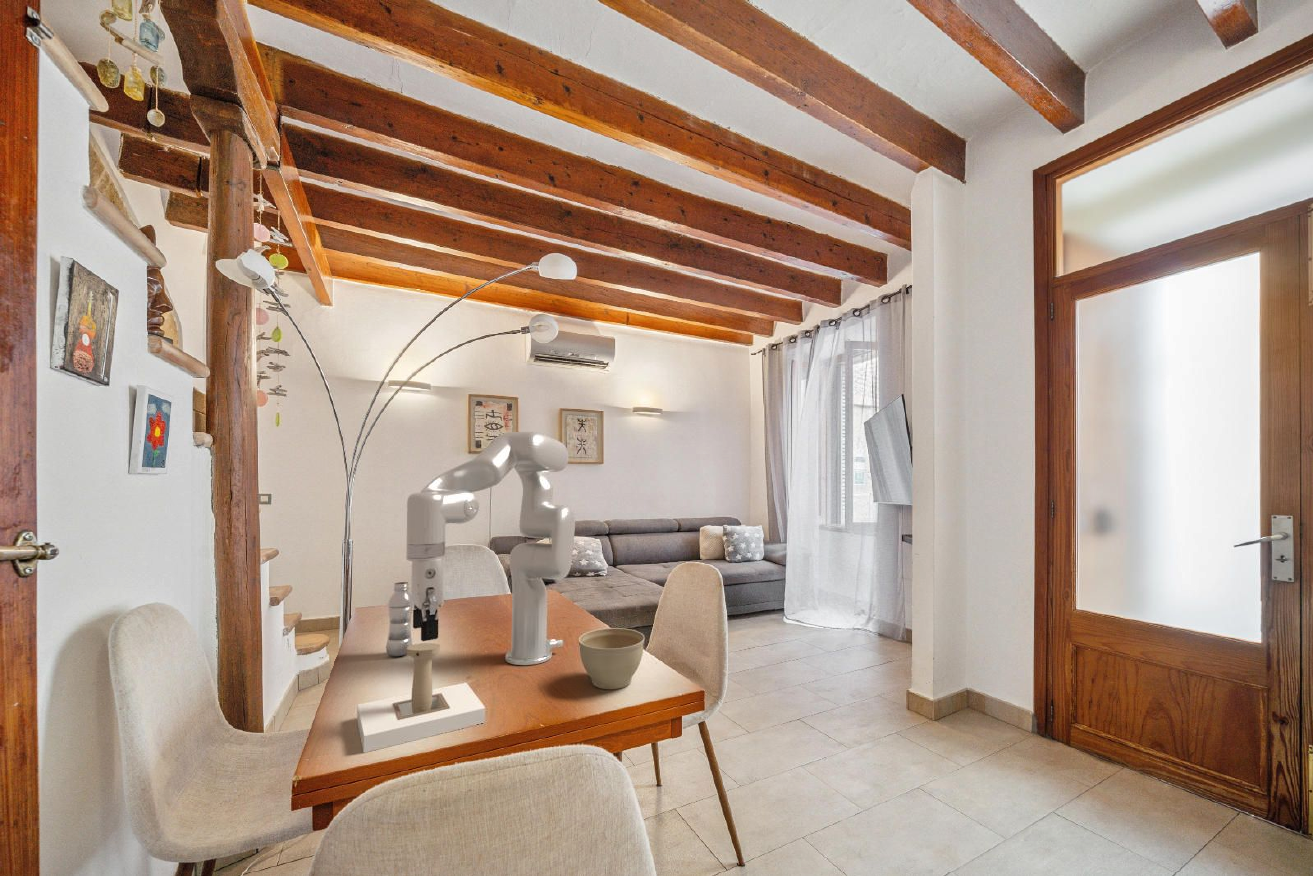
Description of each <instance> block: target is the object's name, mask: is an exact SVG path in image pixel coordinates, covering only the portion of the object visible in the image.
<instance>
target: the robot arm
mask: <svg viewBox="0 0 1313 876" xmlns="http://www.w3.org/2000/svg"><path fill="white" fill-rule="evenodd" d="M569 457H570V456H569V451H568V449H567V447H566V445H565V444H564V443H563V442H561V441H559V440H557V439H555V438H552V437H549V436H548V435H546V434H543V433H540V432H537V431H514V432H513V431H508V432H504V433H502V434H500V435H498V436H497V437H495V438H494V440H492V442H490V443H489V444H487V446H486V447H485V448H484V449H483V450H482V451H481V452H480V453H478V455H476V456H475V457H474V458H473V459H471V460H469V461H466V462H464V463H462V464H459V465H458V466H456V467H453V468H450V469H449V470H447V471H445V472H443V473H441V474H439V475H437V476H436V477H435V478H434V479H432V480H431V481H430V482H429V483H428V484H426V486H424V487H423V488H422V490H420V492H415V493H412V494H409V496H408V498H407V501H406V511H407V512H406V559H405V560H407V561H409V562H411V596H412V600H413V602H414V603H413V609H412V628H413V629H415V630H416V629H420V641H422V642H426V641H427V642H428V641H432V640H437V639H438V638H439V612H438V607H439V608H441V607H443V606H444V603H445V602H444V601H445V600H444V575H443V573H444V572H443V563H442V559H445V557H446V525H447V524H458V525H459V524H465V523H468V522H471V521H472V520H474V518H475V517H476V516H477V514H478V513H479V510H480V509H479V508H480V503H479V499H478V497H477V496H476V495H475V494H474V492H480V491H484V490H486V489H489V488H492V487H494V486H497V485H498V484H500V483H501V481H502V480H503V479H504V478H505V477H507V475H508V474H509V473H510V471H511V470H512V469H514V470H515V471H516V473H517V474H518V477H519V479H520V480H521V484H522V497H521V505H520V506H521V507H520V514H519V515H520V516H519V532H520V533H521V535H522V536H524V537H526V538H532V539H533V538H535V539H545V540H549V539H550V540H551V543H542V542H522V543H520V544H517V545H515V546H514V547H513V548H512V549H511V551H510V553H509V559H508V562H509V563H508V565H509V570H510V576H511V584H512V586H511V587H512V588H511V589H512V592H511V594H512V595H511V596H512V597H511V599H512V600H511V601H512V602H511V604H512V605H511V645H510V646H511V647H510V648H511V650H509V651H508V652H506V654H505V657H504V658H505V660H504V661H506V662H507V663H509V664H511V665H514V666H531V665H538V664H542V663H545V662H547V661H549V660H550V659H551V658H552V656H553V651H552V650H553V649H554V648H561V647H563V646H564V641H563V639H555V638H551V639H548V638H547V632H548V631H547V629H548V628H547V626H548V624H547V619H548V592H547V587H546V584H545V582H544V580H562V579H565V578H566V577H567V576H568V575H569V573H570V571H571V568H572V563H573V561H572V560H573V553H574V552H573V551H574V541H575V531H576V520H575V514H574V512H573V511H572V508H570V507H568V506H567V505H564V504H553V493H554V492H553V490H554V489H553V484H552V481H551V480H550V478H549V477H548V475H547V474H546V473H558V472H561V471H563V470H564V469H565V468H566V467H567V465H568V463H569ZM543 579H544V580H543Z"/></svg>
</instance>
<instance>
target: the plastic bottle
mask: <svg viewBox="0 0 1313 876" xmlns="http://www.w3.org/2000/svg"><path fill="white" fill-rule="evenodd" d="M409 585H410V583H409V581H407V582H406V581H400V582H399V581H398V582H395V583H394V584H393V591H394V592H393V594H392V595H391V597H390V598H389V599H388V602H387V606H388V615H389V621H388V622H389V629H388V636H387V641H386V645H385V650H386V651H385V652H386V654H387V655H388V656H389V657H402V656H405V655H407V647H408V646H410V645H413V641H412V640H413V638H412V633H411V632H412V630H411V629H412V628H411V620H412V615H413V610H414V602H413V600H412V593H410V592H409V590H410V588H409V587H410V586H409Z"/></svg>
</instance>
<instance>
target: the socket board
mask: <svg viewBox="0 0 1313 876" xmlns="http://www.w3.org/2000/svg"><path fill="white" fill-rule="evenodd" d="M356 709H357V710H356V711H357V712H356V713H357V714H356V722H357V726H358V727H357V728H358V731H359V736H360V737H359V738H360V743H361V747H362V751H363V754H366V753H368V752H373V751H377V750H381V749H385V748H389V747H393V746H397V745H402V744H406V743H411V742H414V741H417V740H422V739H425V737H426V738H429V737H434V736H438V735H437V734H439V735H441V733H443V734H446V733H445V732H447V733H451V732H454V731H458V729H459V730H462V728H463V729H467V728H471V727H475V726H478V725H477V724H479V725H482V724H481V723H483V724H486V707H485V705H484V704H483V703H482V701H481V700H480V699H479V697H478V696H477V695H476V693H475V692H474V691H473V689H472V688H471V687H470V686H469V684H468V683H467V682H463V683H458V684H452V685H449V686H443V687H438V688H437V687H436V688H432V705H431V710H429V711H424V712H420V713H415V714H413V713H412V693H409V694H403V695H399V696H398V695H397V696H393V697H390V698H389V697H388V698H384V699H379V700H374V701H370V702H369V701H368V702H363V703H358V704H357V708H356ZM433 735H434V736H433ZM421 738H422V739H421ZM405 742H406V743H405Z"/></svg>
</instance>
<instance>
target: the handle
mask: <svg viewBox="0 0 1313 876" xmlns="http://www.w3.org/2000/svg"><path fill="white" fill-rule="evenodd" d="M440 649H441V645H440V644H439V643H432V642H423V643H422V642H421V643H414V644H413V643H412V645H410V646H408V647H407V654H406V655H407V656H408V657H410V658H412V659H413V675H412V686H411V687H412V688H411V694H412V713H413V714H415V713H420V712H424V711H429V710H431V705H432V689H433V667H432V664H433V663H432V661H433V657H434V656H436V655H438V654H439V652H440V651H441V650H440Z"/></svg>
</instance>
